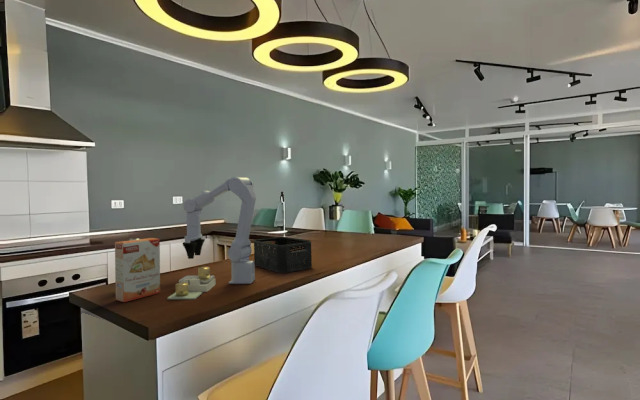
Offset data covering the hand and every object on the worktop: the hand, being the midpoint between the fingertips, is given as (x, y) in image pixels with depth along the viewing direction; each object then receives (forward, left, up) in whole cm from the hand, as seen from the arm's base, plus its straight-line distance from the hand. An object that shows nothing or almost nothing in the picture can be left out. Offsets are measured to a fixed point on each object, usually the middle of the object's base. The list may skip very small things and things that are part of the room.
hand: (194, 256), depth 155 cm
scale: (-7, +16, -9) cm, 20 cm away
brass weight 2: (-10, +15, -6) cm, 19 cm away
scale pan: (-7, +15, -7) cm, 18 cm away
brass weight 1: (-6, +27, -9) cm, 29 cm away
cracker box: (+10, +27, -10) cm, 30 cm away
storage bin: (-36, -23, -10) cm, 44 cm away
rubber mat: (-7, +27, -9) cm, 29 cm away
